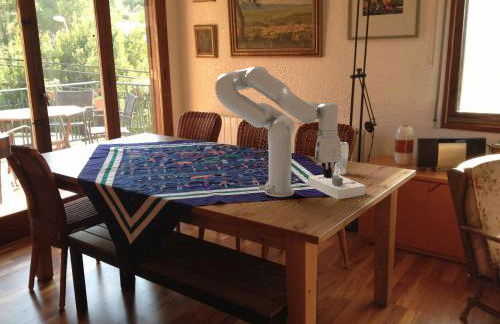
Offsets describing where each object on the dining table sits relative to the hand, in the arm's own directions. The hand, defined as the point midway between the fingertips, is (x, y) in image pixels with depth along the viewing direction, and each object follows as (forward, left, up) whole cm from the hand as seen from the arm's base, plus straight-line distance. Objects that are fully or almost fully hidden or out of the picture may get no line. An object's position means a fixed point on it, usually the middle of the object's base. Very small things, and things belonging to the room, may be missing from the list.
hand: (327, 177), depth 188 cm
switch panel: (+8, +5, -8) cm, 13 cm away
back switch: (+9, +12, -4) cm, 16 cm away
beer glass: (+26, +26, -8) cm, 38 cm away
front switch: (+5, 0, -4) cm, 7 cm away
